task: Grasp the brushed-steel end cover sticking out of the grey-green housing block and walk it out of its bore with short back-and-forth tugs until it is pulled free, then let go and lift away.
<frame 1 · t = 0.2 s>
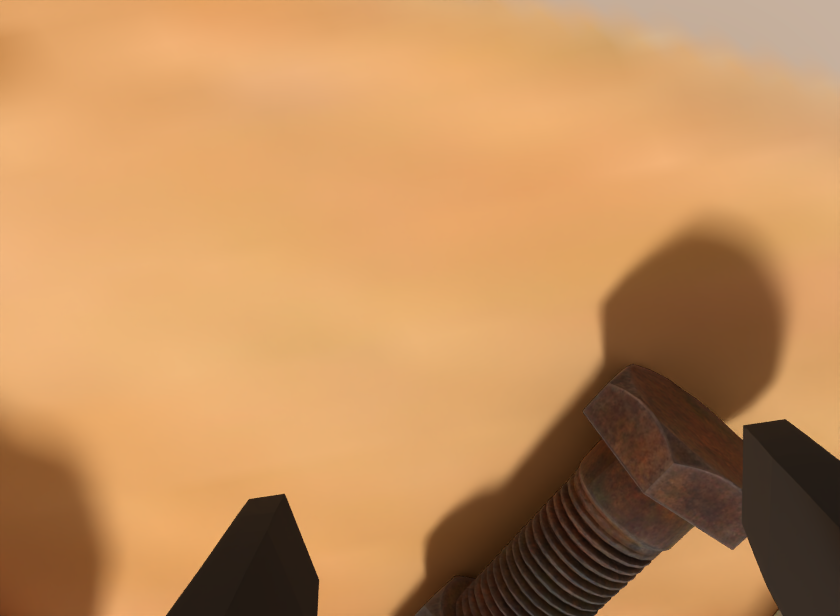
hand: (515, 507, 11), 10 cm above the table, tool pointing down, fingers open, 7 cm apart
bolt: (524, 539, 25), on the table
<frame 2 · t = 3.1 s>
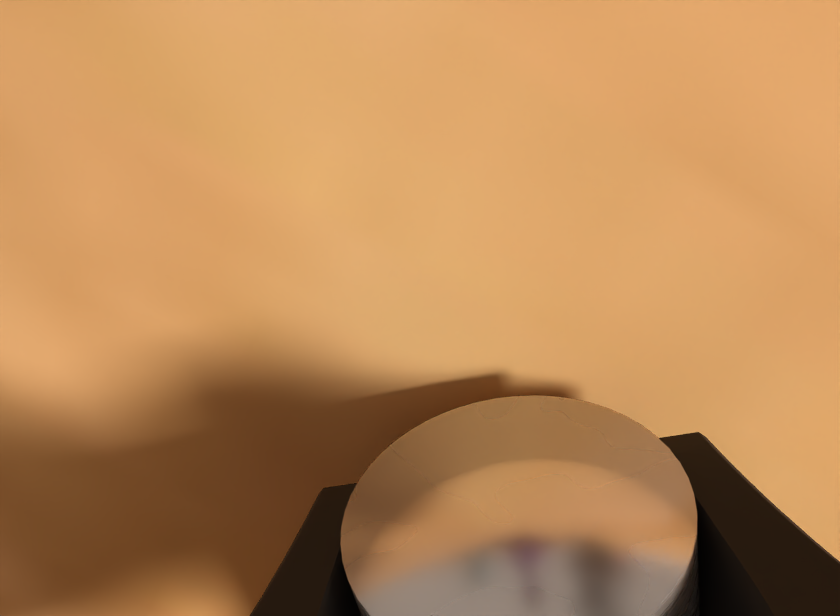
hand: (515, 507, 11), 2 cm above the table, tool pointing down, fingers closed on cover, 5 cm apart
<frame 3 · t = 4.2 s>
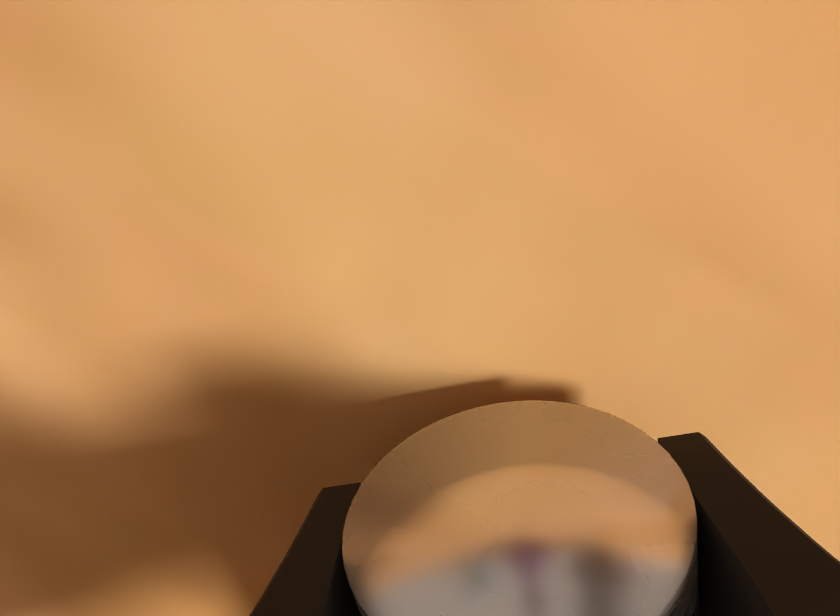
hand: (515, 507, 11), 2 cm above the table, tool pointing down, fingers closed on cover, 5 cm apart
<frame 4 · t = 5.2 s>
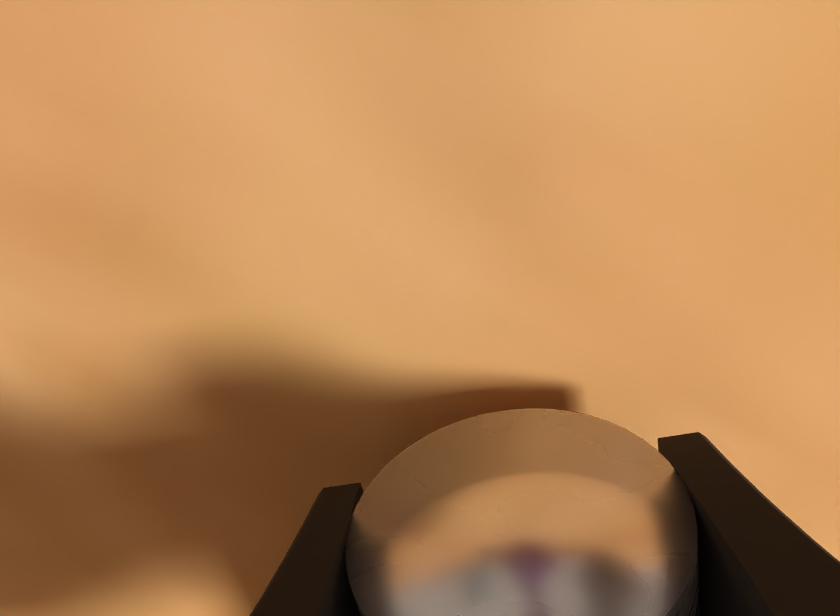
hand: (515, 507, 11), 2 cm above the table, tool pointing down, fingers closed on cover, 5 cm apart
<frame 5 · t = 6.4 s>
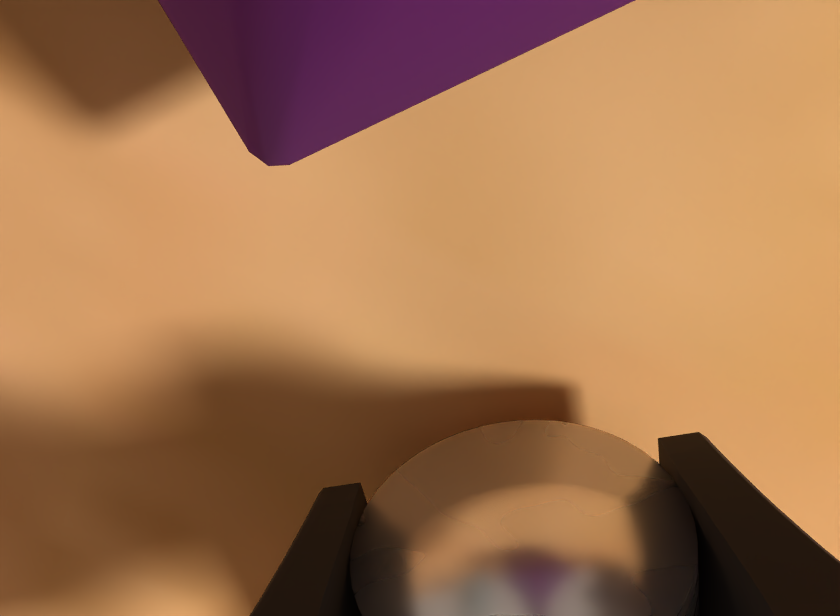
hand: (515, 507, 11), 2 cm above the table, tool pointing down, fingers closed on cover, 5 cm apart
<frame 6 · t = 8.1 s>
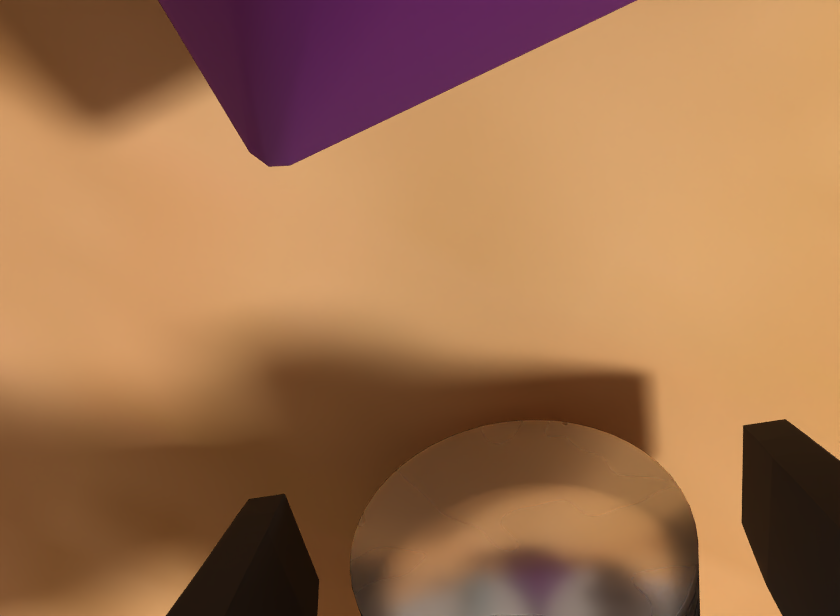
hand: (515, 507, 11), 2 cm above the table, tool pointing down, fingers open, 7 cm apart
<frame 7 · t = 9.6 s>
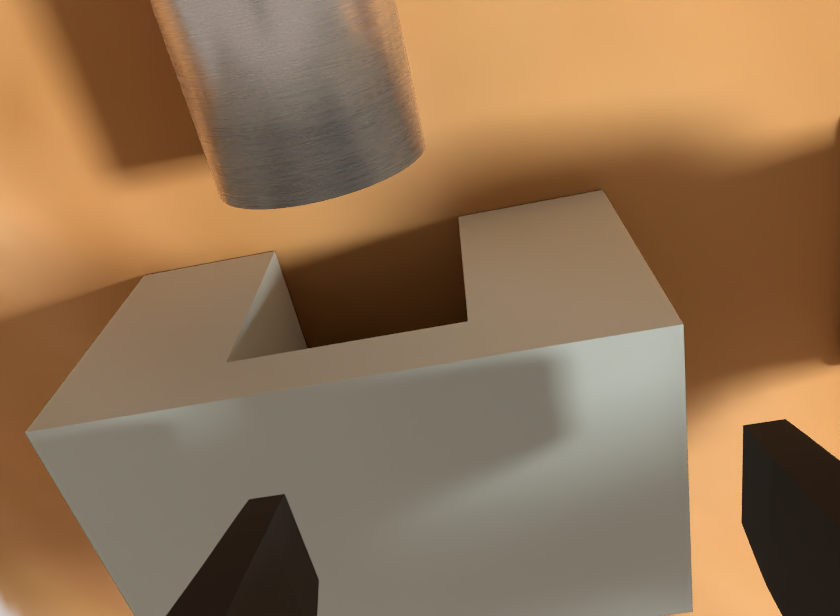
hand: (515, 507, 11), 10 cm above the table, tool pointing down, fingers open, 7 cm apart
housing: (396, 353, 22), on the table
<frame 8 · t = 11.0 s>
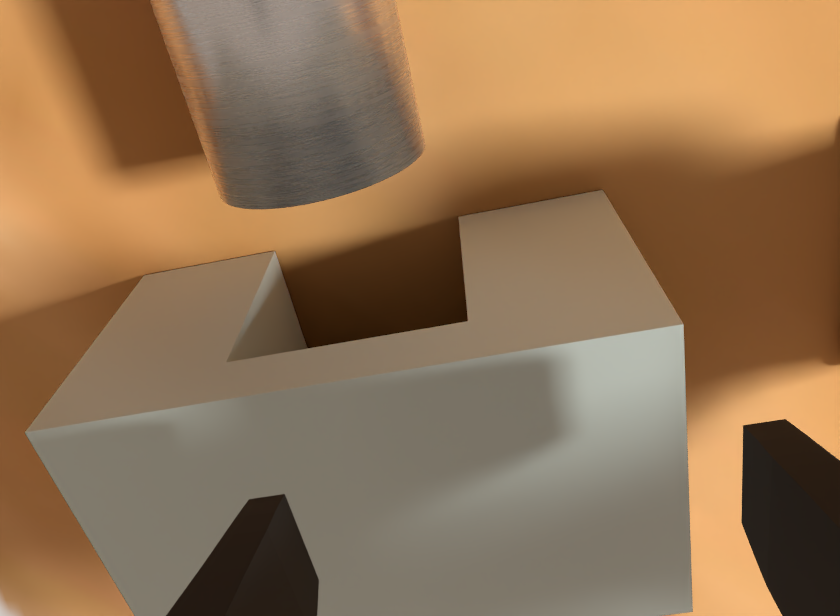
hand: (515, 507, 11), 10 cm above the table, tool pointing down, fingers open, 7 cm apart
housing: (396, 353, 22), on the table
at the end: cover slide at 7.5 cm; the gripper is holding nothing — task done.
